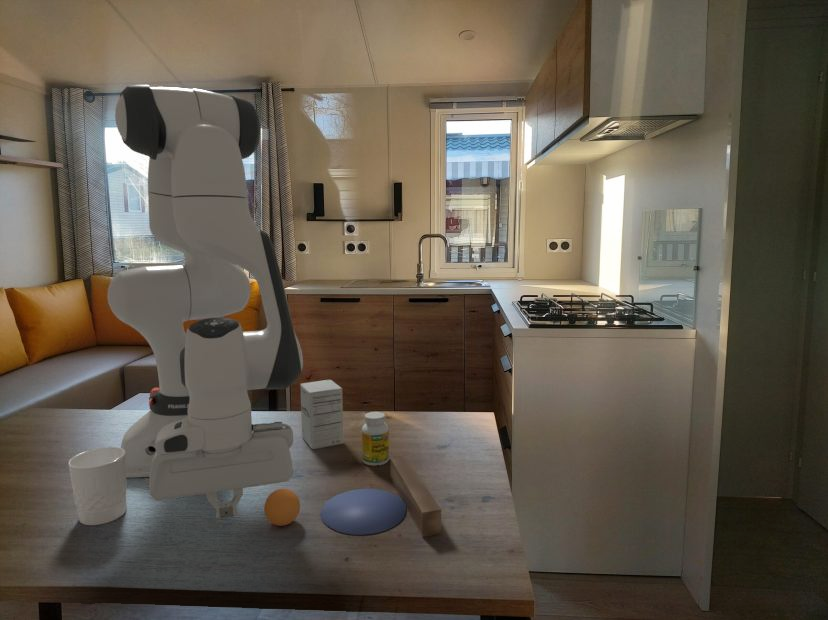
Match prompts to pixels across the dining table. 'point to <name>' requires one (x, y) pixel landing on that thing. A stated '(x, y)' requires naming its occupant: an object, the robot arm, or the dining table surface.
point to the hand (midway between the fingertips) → (226, 515)
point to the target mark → (363, 511)
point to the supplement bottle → (375, 439)
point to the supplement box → (322, 413)
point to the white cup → (99, 484)
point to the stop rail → (415, 496)
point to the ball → (282, 507)
